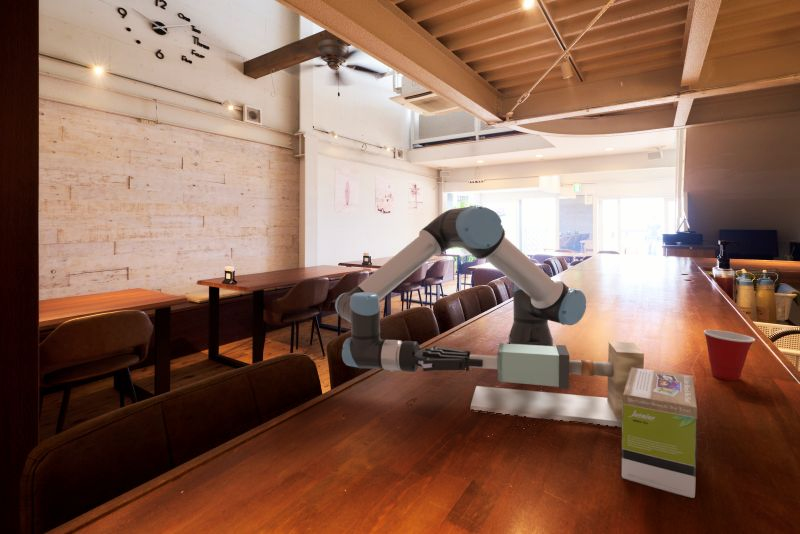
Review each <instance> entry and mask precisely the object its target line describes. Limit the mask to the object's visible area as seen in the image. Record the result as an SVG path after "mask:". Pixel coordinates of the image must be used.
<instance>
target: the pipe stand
mask: <svg viewBox="0 0 800 534" xmlns="http://www.w3.org/2000/svg"><path fill="white" fill-rule="evenodd" d="M607 359H608V361H607V362H606V361H605V362H604V361H594V360H591V359H590V360H589V359H580V360H578V359H577V360H576V359H575V360H574V359H569V375H572V374H573V375H581V376H583V377H584V376H585V377H595V376H597V377H607V393H606V394H607V397H602V396H601V397H600V396H592V395H591V396H590V395H578V394H569V393H557V392H546V391H536V390H525V389H514V388H513V389H512V388H504V387H503V388H501V387H490V386H481V385H480V386H479V385H476V387H475V390H474V392H473V396H472V400H471V403H470V410H471V409H474V410H482V411H488V412H495V413H494V414H496V413H502V414H501V415H505V414H510V415H509V416H514V415H518V416H517V417H524V416H526V418H535V419H542V418H543V420H551V419H553V421H560V420H563V421H562V422H569V421H578V422H586V423H585V424H588V423H593V424H592V425H597V424H600V425H599V426H606V425H608V427H615V426H617V427H616V428H622V399H623V393H624V389H625V386H626V383H627V380H628V376H629V373H630V370H631V368H632V367H633V368H639V369H645V353H644V351H642V350H641V349H640V347H638V346H637V345H636V344H635V342H626V341H625V342H620V341H608V358H607ZM578 422H577V423H578Z"/></svg>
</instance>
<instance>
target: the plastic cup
mask: <svg viewBox="0 0 800 534" xmlns="http://www.w3.org/2000/svg"><path fill="white" fill-rule="evenodd" d="M703 334H704V337H705V341H706V345H707V346H706V347H707V354H708V361H709V364H710V370H711V372H710V373H711V374H712V376H713V377H714V378H717V379H721V380H725V381H739V380H740V378H741V376H742V372H743V369H744V366H745V362H746V360H747V356H748V353H749V350H750V348H751V346H752V345H753V343H754V342H755V341H756V339H755V338H754V337H753V336H750V335H746V334H741V333H737V332H732V331H726V330H720V329H719V330H717V329H704V330H703Z"/></svg>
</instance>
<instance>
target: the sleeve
mask: <svg viewBox="0 0 800 534" xmlns="http://www.w3.org/2000/svg"><path fill="white" fill-rule="evenodd" d="M497 356H498V369H497V382H502V383H511V384H512V383H514V384H521V385H522V384H525V385H535V386H546V387H547V386H548V387H556V388H557V387H558V388H559V353H558V350H557V347H556V346H554V345H553V346H539V345H522V344H509V343H504V342H503V343H501V342H499V344H498V349H497Z"/></svg>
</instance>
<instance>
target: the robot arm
mask: <svg viewBox="0 0 800 534" xmlns="http://www.w3.org/2000/svg"><path fill="white" fill-rule="evenodd" d="M452 248H463V249H464V250H466V251H467V252H468V253H470V254H471V255H472V256H473V257H474V258H476V259H477V260H484V259H485V261H487V262H489V264H491V265H492V266H493V267H494V268H495V269H497V270H498V271H499V272H500V273H502V274H503V275H504V276H505V277H506V278H507V279H508V280H509V281H511V282H512V283H514V285H513V291H512V293H513V296H512V297H513V300H512V301H513V304H512V305H513V322H512V325H511V329H510V331H509V334H508V344H509V343H510V344H522V345H539V346H554V338H553V337H552V333H551V330H550V326H549V322H548V321H550V322H554V323H557V324H561V325H563V326H573V325H576V324H577V323H579V322H580V321H581V320H582V319H583V317H584V315H585V312H586V310H587V298H586V296H585V293H584V292H583V291H582V290H581V289H577V288H572V287H569V286H567V285H566V284H565V283H564V281H562V280H561V279H560V278H558V277H555V276H554V277H553V276H552V277H551V276H549V275H548V274H547V273H546V272H545V271H544V270H542V268H540V267H539V266H538V265H537V264H536V263H535V262H533V261H532V259H530V258H529V257H528V256H527V255H526V254H525V253H524V252H523V251H521V250H520V249H519V248H518V247H517V246H516V245H515V244H514V243H512V241H510V240H509V239H508V238H507V237H506V230H505V228H504V227H503V225H502V220H501V217H500V216H499V214H498V212H496V210H494V209H492V208H490V207H488V206H485V205H483V206H482V205H471V206H470V205H469V206H466V207H460V208H459V207H458V208H451V209H448V210H445V211H444V212H443V213H441V214H439V215H438V216H436V218H434V219H433V220H432V221H430V222H429V223H428V224H427V225H425V226H424V227H423V228H422V229H421V230H419V232H418V236H417V237H416V238H415V239H414V240H413V241H411V242H410V243H409V244H407V245H406V246H405V247H404V248H403V249H401V250H400V251H399V252H397V254H395V255H394V256H392V258H390V259H389V260H388V261H386V262H385V263H384V264H383V265H382V266H380V267H379V268H378V269H376V271H373V273H371V274H370V275H369V276H368V277H367V278H366V279H364V280H363V281H362V282H360V283H359V285H357V286H356V287H354V288H353V289H352V290H350V291H347V292H343V293H341V294H340V295H339V296H338V297H337V298H336V300H335V303H334V307H335V311H336V312H337V314H338V315H339V316H340V318H341V319H343V320H346V321H347V322H349V323H350V329H351V334H350V337H347V338H346V339H345V340H344V342H343V343H342V350H341V357H342V361H343V363H344V364H345V365H346V366H349V367H353V368H358V369H372V370H373V369H374V370H376V369H377V370H388V371H389V372H391V373H393V372H394V371H402V372H409V373H411V372H412V373H415V372H417V371H418V369H419V367H422V371H423V372H431V371H466V372H469V370H470V368H476V369H489V370H498V355H487V354H486V355H485V354H475V353H474V354H473V353H471V350H462V349H454V348H447V347H446V348H445V347H440V346H437V345H435V346H433V347H426V348H421V347H420V344H419V343H418V341H415V340H414V341H413V340H404V341H402V340H399V339H397V340H396V339H382V338H381V316H380V315H381V314H380V313H381V311H380V310H381V305H380V301H381V300H382V299H384V297H386V296H387V295H388V294H389V293H391V292H392V291H393V290H394V289H396V288H397V287H398V286H399V285H400V284H402V282H403V281H406V279H407V278H409V277H410V276H411V275H412V274H413V273H414V272H416V271H418V269H420V268H421V267H422V266H424V264H426V263H427V262H428V261H429V260H430V259H432V257H434V256H440V255H441V254H442V253H444V252H446V251H448V250H449V249H452Z"/></svg>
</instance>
